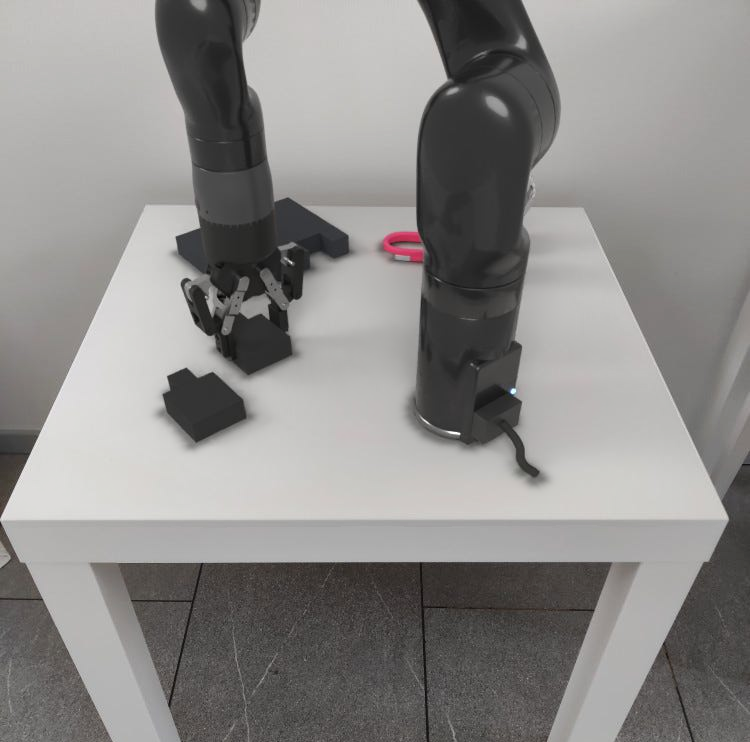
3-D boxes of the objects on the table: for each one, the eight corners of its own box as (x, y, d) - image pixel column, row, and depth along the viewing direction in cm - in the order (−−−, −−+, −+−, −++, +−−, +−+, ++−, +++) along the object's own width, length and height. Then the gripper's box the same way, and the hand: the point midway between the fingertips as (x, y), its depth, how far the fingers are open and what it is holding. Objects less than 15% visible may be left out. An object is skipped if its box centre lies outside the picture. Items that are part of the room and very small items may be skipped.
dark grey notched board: (349, 252, 102) (348, 235, 101) (234, 298, 95) (231, 281, 93) (289, 213, 110) (288, 196, 108) (178, 253, 102) (175, 236, 100)
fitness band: (379, 259, 101) (380, 248, 100) (386, 237, 105) (386, 227, 104) (440, 264, 100) (441, 253, 99) (444, 242, 104) (445, 231, 103)
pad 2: (246, 418, 79) (243, 399, 78) (195, 442, 77) (191, 424, 75) (205, 379, 84) (201, 360, 82) (155, 401, 81) (150, 382, 79)
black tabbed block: (292, 355, 87) (290, 336, 85) (247, 375, 84) (245, 357, 82) (252, 322, 91) (249, 304, 89) (208, 340, 89) (205, 322, 87)
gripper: (189, 241, 69) (217, 387, 82) (318, 195, 75) (325, 338, 88) (150, 210, 73) (182, 354, 85) (275, 169, 79) (288, 309, 92)
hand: (254, 345), depth 87 cm, fingers closed on black tabbed block, 6 cm apart
